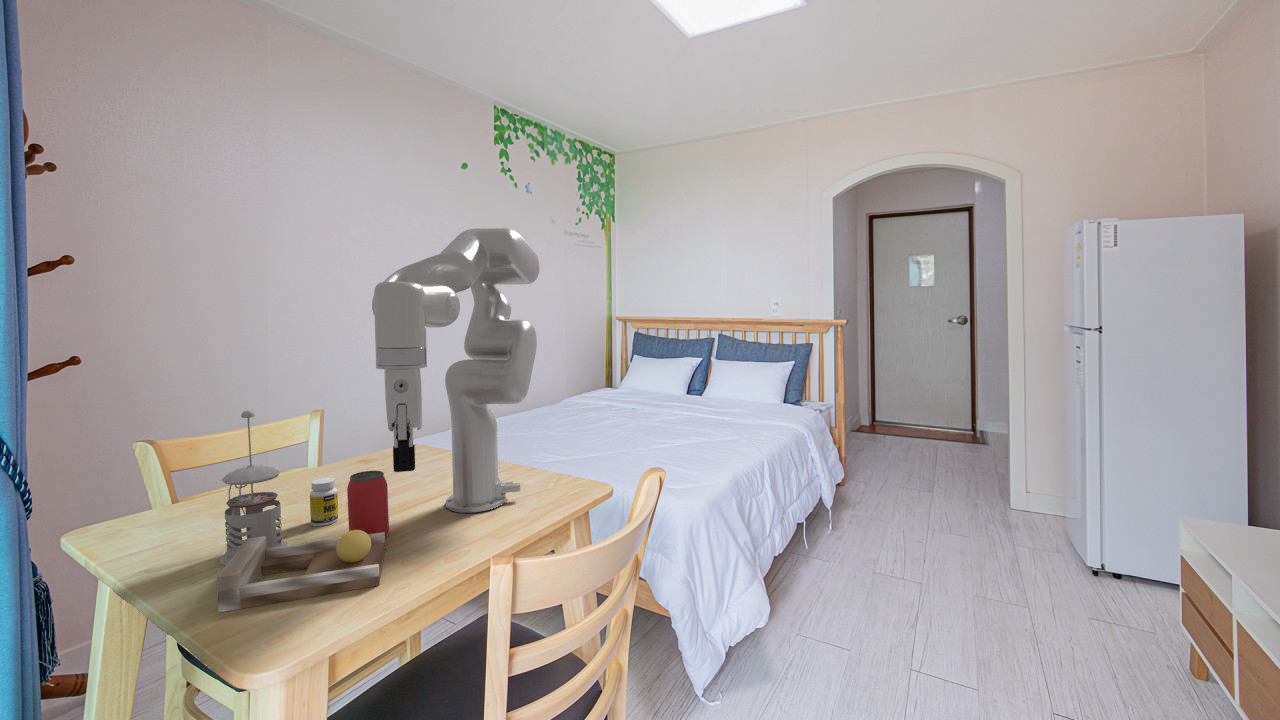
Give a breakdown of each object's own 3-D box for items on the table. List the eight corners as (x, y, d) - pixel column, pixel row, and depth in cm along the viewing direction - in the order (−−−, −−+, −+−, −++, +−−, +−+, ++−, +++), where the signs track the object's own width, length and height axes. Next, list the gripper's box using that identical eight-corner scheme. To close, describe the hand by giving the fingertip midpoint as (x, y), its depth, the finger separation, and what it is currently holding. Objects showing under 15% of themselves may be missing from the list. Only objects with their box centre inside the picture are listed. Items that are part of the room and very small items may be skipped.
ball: (373, 552, 89) (372, 523, 89) (370, 565, 85) (369, 534, 84) (339, 557, 87) (337, 527, 87) (334, 570, 83) (333, 539, 82)
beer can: (358, 531, 102) (356, 469, 101) (394, 530, 102) (392, 469, 101) (342, 546, 95) (339, 480, 94) (380, 545, 96) (378, 479, 95)
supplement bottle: (325, 527, 104) (323, 485, 103) (305, 525, 104) (302, 483, 104) (344, 518, 108) (342, 477, 108) (324, 516, 109) (322, 476, 108)
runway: (385, 548, 94) (384, 521, 94) (379, 585, 81) (377, 553, 81) (249, 568, 87) (247, 538, 86) (218, 612, 74) (216, 577, 73)
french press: (236, 571, 86) (227, 417, 84) (203, 554, 92) (195, 410, 89) (300, 549, 94) (294, 408, 92) (267, 534, 100) (260, 402, 98)
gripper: (426, 361, 81) (429, 480, 82) (426, 355, 95) (428, 457, 96) (371, 362, 78) (375, 485, 79) (379, 356, 92) (382, 461, 93)
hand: (404, 469), depth 88 cm, fingers closed
